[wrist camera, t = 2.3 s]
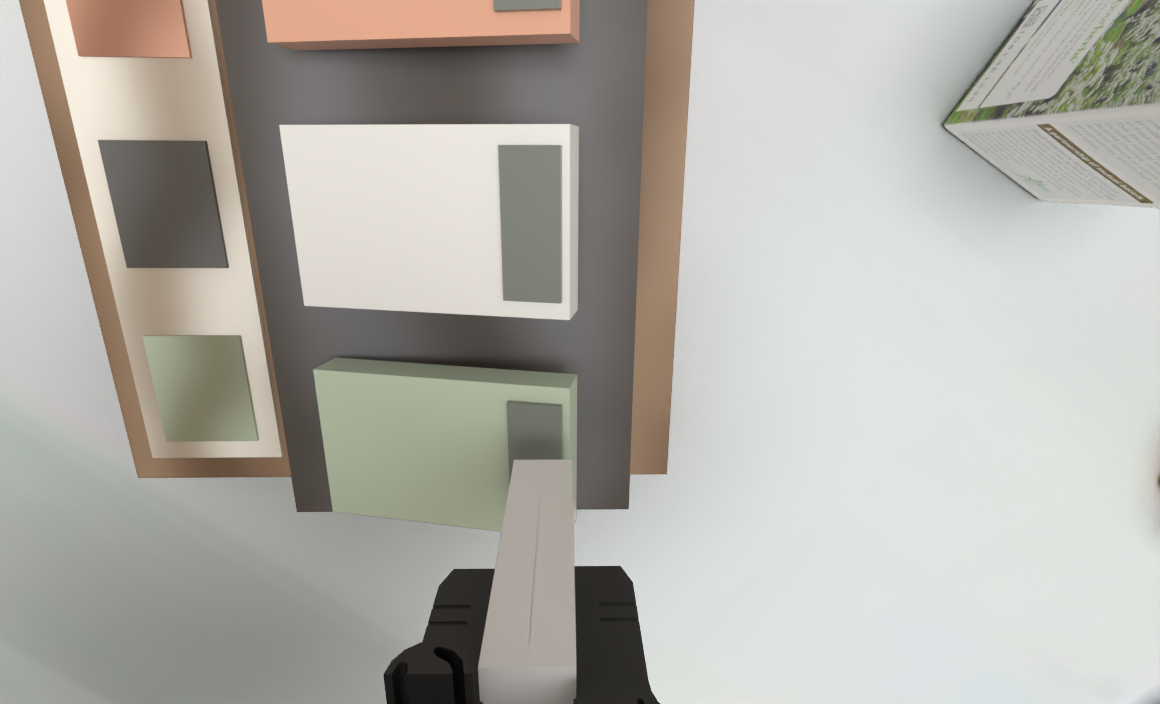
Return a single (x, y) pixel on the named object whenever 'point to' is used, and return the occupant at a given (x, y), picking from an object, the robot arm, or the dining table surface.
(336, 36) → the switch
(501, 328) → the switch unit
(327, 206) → the switch middle
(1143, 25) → the syrup box
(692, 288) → the dining table surface
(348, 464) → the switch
